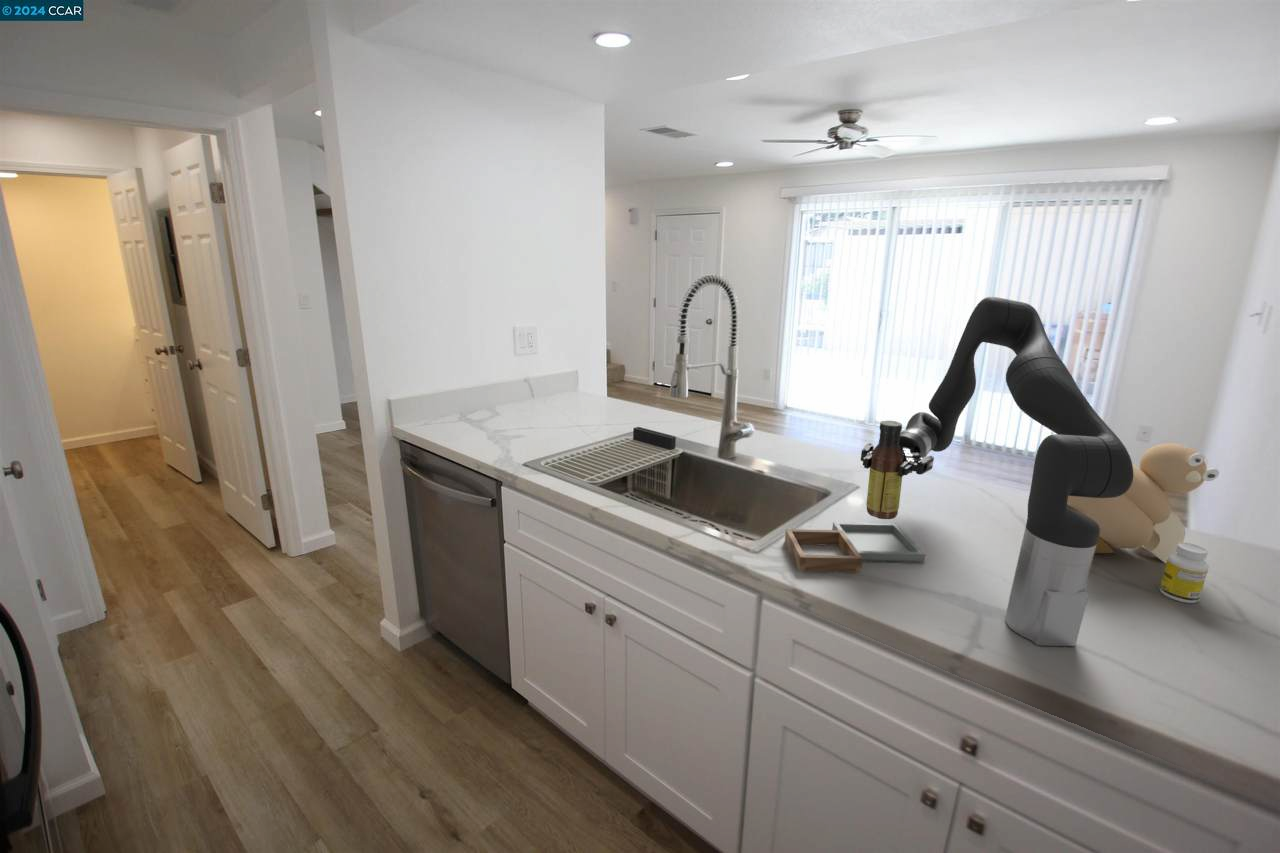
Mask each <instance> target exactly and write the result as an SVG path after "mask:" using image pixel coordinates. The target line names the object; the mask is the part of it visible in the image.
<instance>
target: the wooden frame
mask: <svg viewBox="0 0 1280 853" xmlns="http://www.w3.org/2000/svg"><path fill="white" fill-rule="evenodd" d="M784 543H785V545H786V547H787V550H788V552H789V553H790V556H791V557H792V559H793V561H794V564H795V566H796V567H797V569H798V572H821V573H822V572H823V573H825V572H826V573H827V572H828V573H862V569H863V568H862V567H863V563H864V562H863V558H862V556H861V555H860V554H859V552H858V551H857V550H856V548H855V547H854V545H853V544H852V543H851V541H850V540H849V539H848V537H847V536H846V534H845V533H844V532H843V530H832V529H795V528H791V529H789V528H787V529H785V537H784ZM800 545H806V546H807V545H809V546H813V545H815V546H818V545H819V546H838V548H839V549H840V551H841V552H842V554H843V555H839V554H838V555H835V554H834V555H833V554H832V555H831V554H830V555H828V554H805V553H804V551H803V549H802V548H801V546H800Z"/></svg>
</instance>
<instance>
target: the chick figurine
mask: <svg viewBox="0 0 1280 853" xmlns="http://www.w3.org/2000/svg"><path fill="white" fill-rule="evenodd" d="M1205 459H1206V458H1205V455H1204V454H1202V453H1201V452H1197V451H1195V449H1193V448H1191V447H1188V446H1185V445H1183V444H1181V443H1180V444H1179V443H1171V442H1170V443H1169V442H1167V443H1160V444H1157V445H1154V446H1152V447H1150V448H1148V449H1147V450H1146V451H1145V452H1144V453H1143V454H1142V456H1141V458H1140V460H1139V467H1138V466H1136V465H1135V464H1133V463H1132V465H1133V474H1134V475H1133V481H1132V484H1131V487H1130V488H1129V490H1128V491H1127V492H1126V493H1124V494H1122V495H1121V496H1118V497H1113V498H1092V497H1079V496H1068V500H1067V508H1070V509H1072V510H1074V511H1077V512H1079V513H1082V514H1084V515H1086V516H1088V517H1089V518H1091V519H1093V520H1094V521H1095V522H1096V523H1097V524H1098V525H1099V527H1100V534H1099V538H1098V542H1097V545H1096V549H1095V553H1094V554H1103V553H1104V554H1105V553H1109V554H1110V553H1115V551H1114V550H1113V549H1112V548H1111V547H1110V546H1113V547H1115V548H1121V549H1138V548H1142V547H1143V548H1144V547H1145V549H1146V550H1147V551H1149V552H1150V553H1151V554H1153V555H1154V556H1155V557H1156V558H1157V559H1159V560H1160V561H1162V562H1163V563H1164V564H1167V560H1168V557H1169V556H1170V555H1171V554H1173V553H1177V552H1176V548H1177V545H1178V543H1184V541H1185V539H1186V538H1185V536H1186V528H1185V526H1184V524H1183V522H1182V520H1181V519H1180V517H1179V516H1178V515H1177V514H1175V513H1174V512H1173V511H1172V507H1171V503H1170V501H1169V498H1168V496H1167V493H1171V494H1185V493H1189V492H1192V491H1195V490H1196V489H1197V488H1199V487H1200V486H1202V484H1203V483H1204V482H1205V481H1206V482H1211V481H1214V480H1215V479H1217V478H1218V477H1219V475H1220V471H1219V469H1217V468H1214V467H1212V468H1211V467H1210V468H1207V465H1206V462H1205Z"/></svg>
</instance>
